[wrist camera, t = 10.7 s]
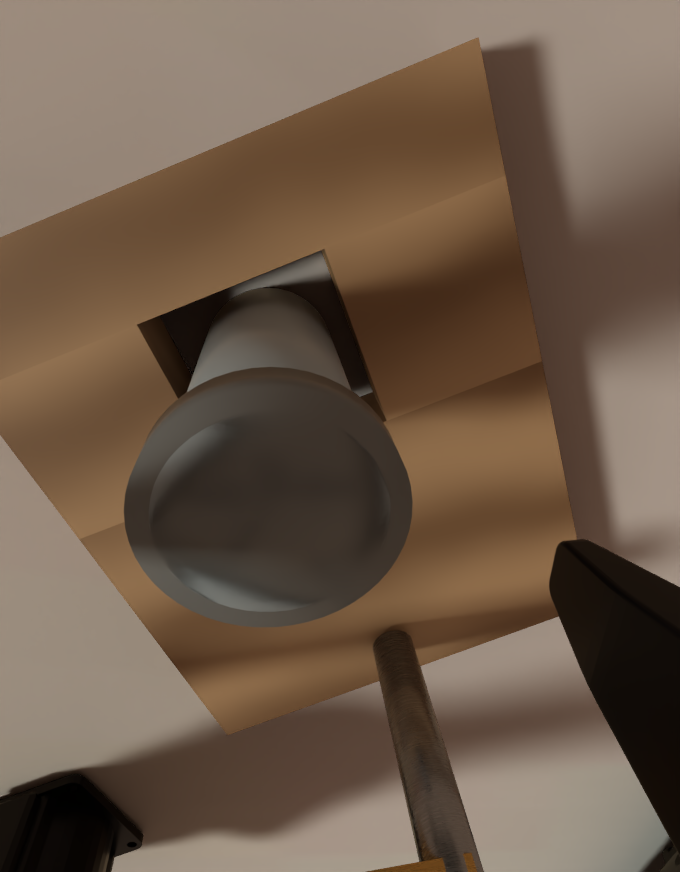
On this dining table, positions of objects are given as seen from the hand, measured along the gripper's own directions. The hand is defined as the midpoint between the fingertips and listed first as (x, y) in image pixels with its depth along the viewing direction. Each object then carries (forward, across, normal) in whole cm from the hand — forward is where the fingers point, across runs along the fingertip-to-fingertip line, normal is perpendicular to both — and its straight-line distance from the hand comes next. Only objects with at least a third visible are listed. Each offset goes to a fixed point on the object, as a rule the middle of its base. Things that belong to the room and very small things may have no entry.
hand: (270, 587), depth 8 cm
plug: (+12, 0, 0) cm, 12 cm away
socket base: (+12, -1, +4) cm, 12 cm away
